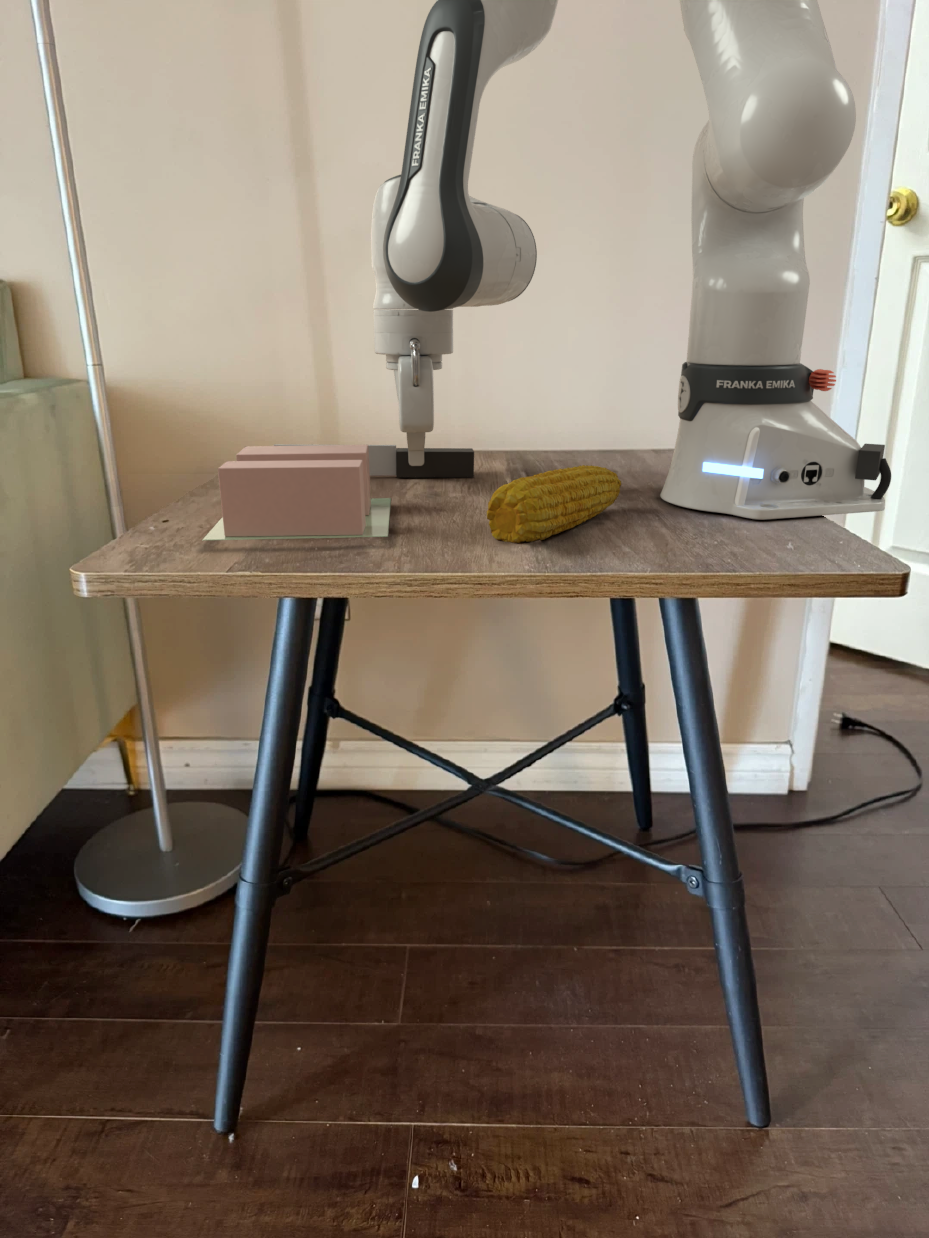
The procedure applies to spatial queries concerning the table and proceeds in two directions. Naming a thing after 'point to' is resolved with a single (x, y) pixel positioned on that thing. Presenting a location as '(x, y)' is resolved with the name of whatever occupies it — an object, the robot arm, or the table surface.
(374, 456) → the knife
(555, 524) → the food
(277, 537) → the plate
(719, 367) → the robot arm
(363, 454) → the pink rectangular block
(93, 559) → the table surface
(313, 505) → the dusty pink brick
